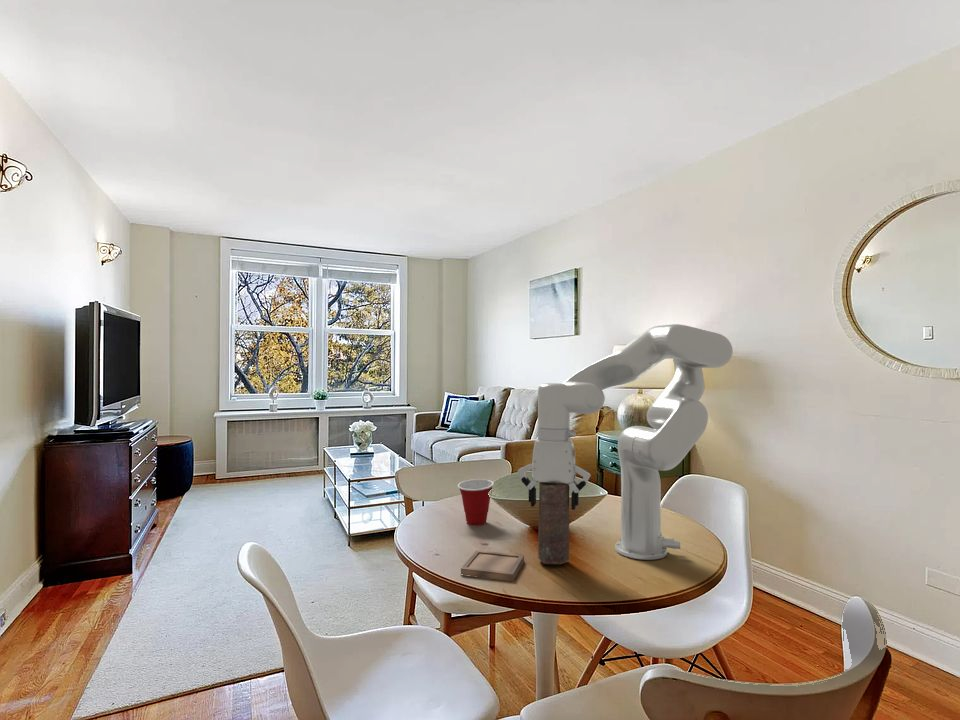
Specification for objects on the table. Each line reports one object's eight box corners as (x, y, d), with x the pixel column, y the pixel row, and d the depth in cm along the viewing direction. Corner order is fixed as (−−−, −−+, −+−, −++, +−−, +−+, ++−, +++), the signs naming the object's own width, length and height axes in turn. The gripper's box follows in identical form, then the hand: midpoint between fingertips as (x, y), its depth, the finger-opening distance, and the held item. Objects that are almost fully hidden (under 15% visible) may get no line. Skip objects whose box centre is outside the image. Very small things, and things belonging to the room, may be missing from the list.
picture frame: (523, 561, 128) (523, 555, 128) (512, 581, 117) (512, 574, 117) (476, 556, 132) (476, 550, 132) (460, 575, 120) (460, 568, 120)
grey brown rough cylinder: (572, 569, 124) (572, 482, 124) (541, 569, 123) (541, 483, 123) (565, 556, 131) (565, 475, 131) (535, 557, 131) (535, 476, 131)
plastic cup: (450, 522, 159) (450, 482, 159) (477, 515, 166) (477, 477, 167) (474, 531, 151) (474, 488, 151) (501, 523, 158) (501, 483, 158)
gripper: (591, 434, 128) (591, 505, 128) (521, 431, 133) (521, 500, 133) (589, 438, 121) (588, 514, 121) (514, 435, 126) (514, 508, 126)
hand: (553, 506), depth 127 cm, fingers open, 9 cm apart
